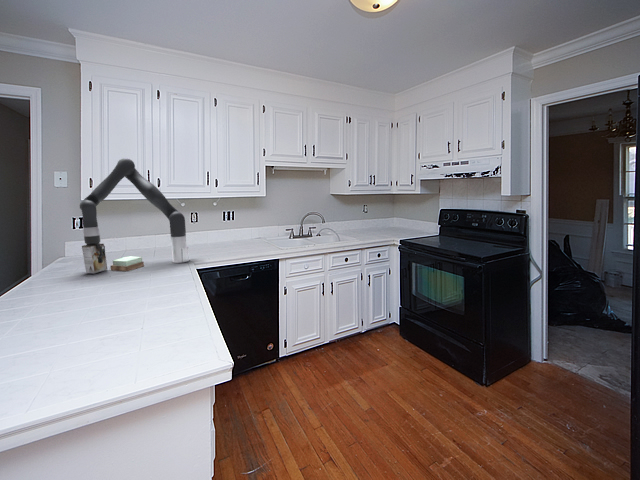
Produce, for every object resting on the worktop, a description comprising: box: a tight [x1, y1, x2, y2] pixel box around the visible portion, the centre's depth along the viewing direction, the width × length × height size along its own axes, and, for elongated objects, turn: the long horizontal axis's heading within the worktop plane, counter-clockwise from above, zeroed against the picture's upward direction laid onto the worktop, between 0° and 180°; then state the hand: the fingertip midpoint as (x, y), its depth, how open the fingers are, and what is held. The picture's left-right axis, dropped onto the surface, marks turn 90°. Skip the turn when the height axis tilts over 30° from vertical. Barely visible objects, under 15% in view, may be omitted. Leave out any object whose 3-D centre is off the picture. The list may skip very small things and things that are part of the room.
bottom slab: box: [110, 261, 145, 272], centre depth 199 cm, size 12×13×4 cm
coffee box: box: [81, 243, 108, 274], centre depth 189 cm, size 9×6×16 cm
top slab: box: [112, 255, 143, 266], centre depth 198 cm, size 10×12×3 cm
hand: (95, 262), depth 189 cm, fingers closed on coffee box, 6 cm apart
